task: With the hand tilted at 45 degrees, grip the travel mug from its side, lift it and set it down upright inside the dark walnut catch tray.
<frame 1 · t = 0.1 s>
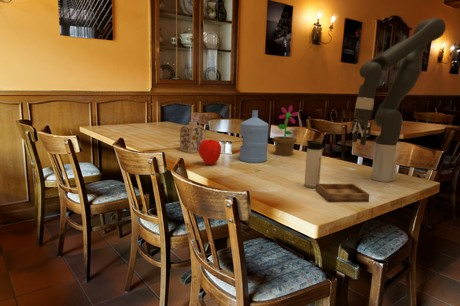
hand: (358, 143, 164), 17 cm above the table, tool pointing down, fingers open, 8 cm apart
travel mug: (311, 186, 154), on the table
flowerpot: (283, 154, 220), on the table
decorative jar: (192, 151, 222), on the table
catch tray: (341, 195, 143), on the table
apple: (209, 164, 189), on the table
water jug: (252, 160, 202), on the table
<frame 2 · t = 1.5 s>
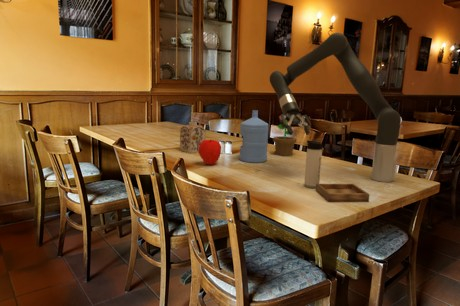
hand: (300, 134, 161), 21 cm above the table, tool tilted 45°, fingers open, 8 cm apart
nothing on the table moved.
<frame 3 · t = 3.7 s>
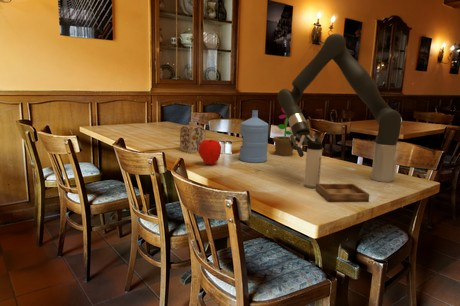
hand: (310, 155, 154), 13 cm above the table, tool tilted 45°, fingers open, 8 cm apart
nothing on the table moved.
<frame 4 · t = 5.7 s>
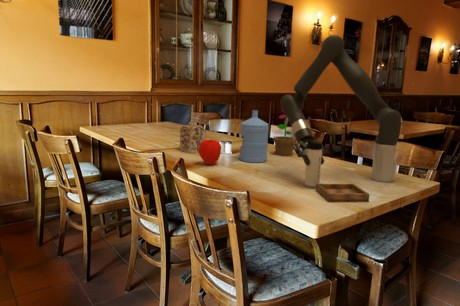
hand: (315, 163, 151), 10 cm above the table, tool tilted 45°, fingers closed on travel mug, 6 cm apart
travel mug: (311, 186, 154), on the table, touching gripper
everything else where it was.
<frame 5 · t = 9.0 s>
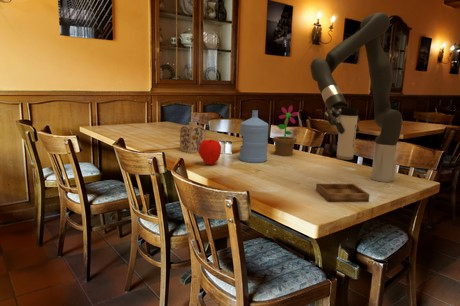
hand: (350, 132, 136), 26 cm above the table, tool tilted 45°, fingers closed on travel mug, 6 cm apart
travel mug: (344, 158, 140), point 15 cm above the table, touching gripper
everything else where it was.
when the fingers open (13 cm above the table, at t = 12.3 s): travel mug drops 1 cm, resting on catch tray.
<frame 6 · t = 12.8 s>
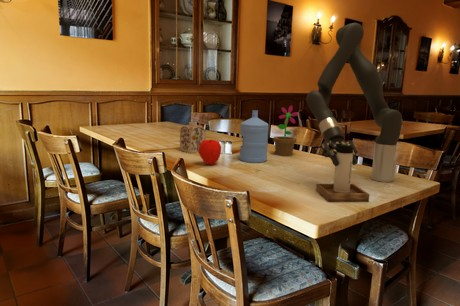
hand: (346, 164, 139), 13 cm above the table, tool tilted 45°, fingers open, 8 cm apart
travel mug: (340, 193, 143), point 1 cm above the table, touching catch tray
everything else where it was.
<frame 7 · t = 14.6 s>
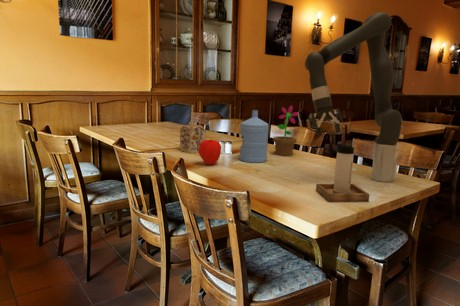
hand: (329, 134, 156), 22 cm above the table, tool tilted 20°, fingers open, 8 cm apart
nothing on the table moved.
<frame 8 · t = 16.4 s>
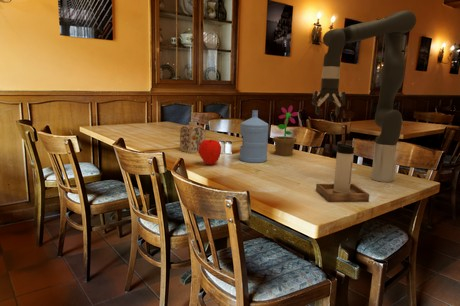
hand: (327, 115, 158), 30 cm above the table, tool pointing down, fingers open, 8 cm apart
nothing on the table moved.
at the end: travel mug inside the target area on the catch tray (0.2 cm from its centre), point 0.8 cm above the catch tray's base; travel mug tilted 0°; the gripper is holding nothing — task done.
